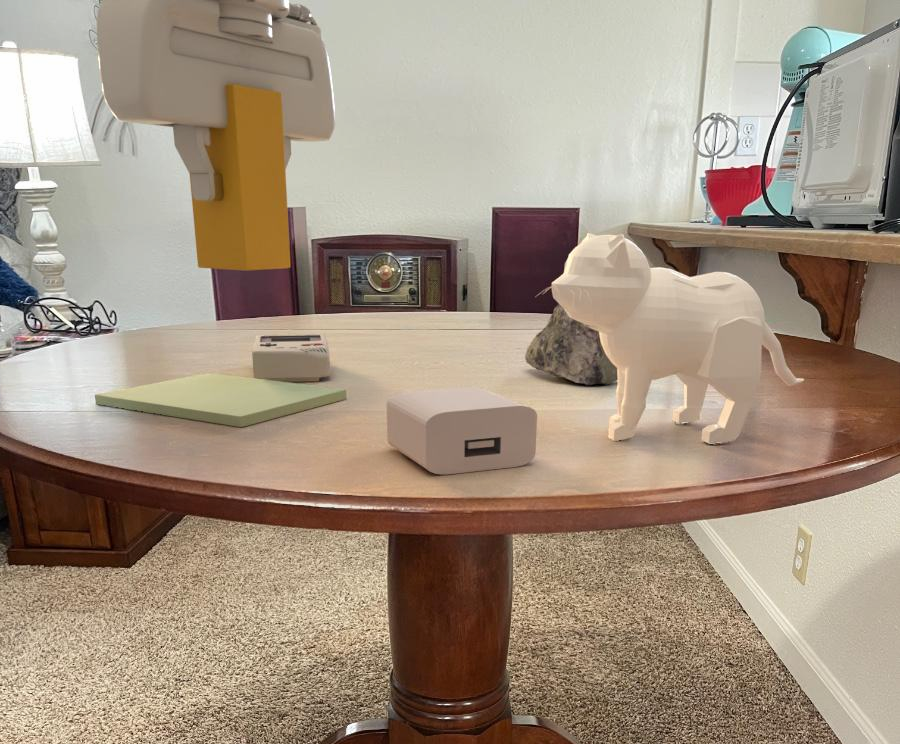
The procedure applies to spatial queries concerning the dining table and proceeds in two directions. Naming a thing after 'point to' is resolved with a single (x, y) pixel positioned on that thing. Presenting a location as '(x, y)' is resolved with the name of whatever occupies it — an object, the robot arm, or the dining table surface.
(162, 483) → the dining table surface
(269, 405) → the mat
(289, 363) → the handheld gaming device
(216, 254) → the block
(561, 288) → the cat figurine
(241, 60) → the robot arm
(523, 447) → the charger
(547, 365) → the mineral rock
